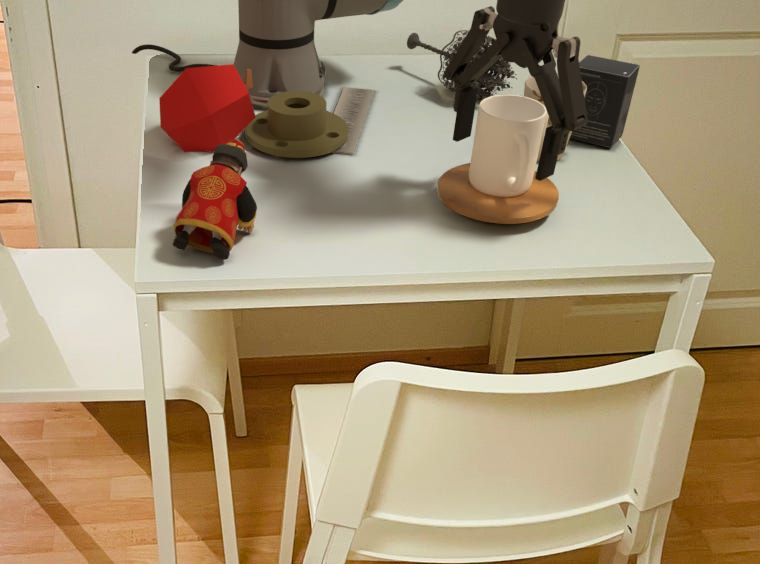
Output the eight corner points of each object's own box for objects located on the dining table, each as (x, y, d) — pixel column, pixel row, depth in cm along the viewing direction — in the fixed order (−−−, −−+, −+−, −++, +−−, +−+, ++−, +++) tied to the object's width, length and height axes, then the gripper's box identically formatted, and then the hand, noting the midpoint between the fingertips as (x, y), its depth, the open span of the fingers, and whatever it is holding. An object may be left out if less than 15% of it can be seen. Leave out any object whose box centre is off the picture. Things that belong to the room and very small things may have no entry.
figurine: (243, 281, 117) (279, 181, 121) (233, 241, 108) (273, 134, 112) (171, 264, 118) (209, 165, 122) (156, 223, 109) (197, 118, 113)
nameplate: (352, 152, 134) (318, 149, 135) (352, 154, 134) (318, 151, 135) (374, 89, 151) (343, 87, 152) (374, 91, 151) (343, 89, 152)
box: (622, 136, 140) (641, 64, 133) (610, 149, 136) (629, 76, 129) (571, 124, 143) (587, 53, 136) (558, 137, 139) (574, 64, 132)
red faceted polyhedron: (187, 182, 137) (278, 136, 138) (165, 131, 126) (265, 81, 126) (155, 123, 141) (244, 79, 142) (132, 68, 130) (228, 20, 130)
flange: (364, 92, 137) (270, 75, 142) (326, 133, 127) (227, 114, 132) (362, 122, 141) (270, 105, 145) (325, 165, 131) (228, 145, 135)
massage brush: (384, 38, 152) (401, 82, 159) (484, 80, 139) (498, 125, 146) (423, -3, 152) (439, 42, 160) (526, 35, 139) (538, 82, 147)
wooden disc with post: (457, 158, 130) (467, 88, 124) (569, 181, 126) (586, 109, 119) (421, 207, 120) (429, 133, 113) (541, 234, 115) (558, 159, 109)
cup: (521, 167, 127) (535, 93, 120) (547, 211, 118) (564, 133, 111) (461, 169, 126) (472, 95, 119) (483, 213, 117) (496, 135, 110)
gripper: (430, -43, 110) (410, 130, 125) (608, 17, 97) (563, 203, 111) (472, -55, 114) (448, 115, 128) (650, 2, 100) (600, 184, 115)
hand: (501, 157), depth 120 cm, fingers open, 13 cm apart
